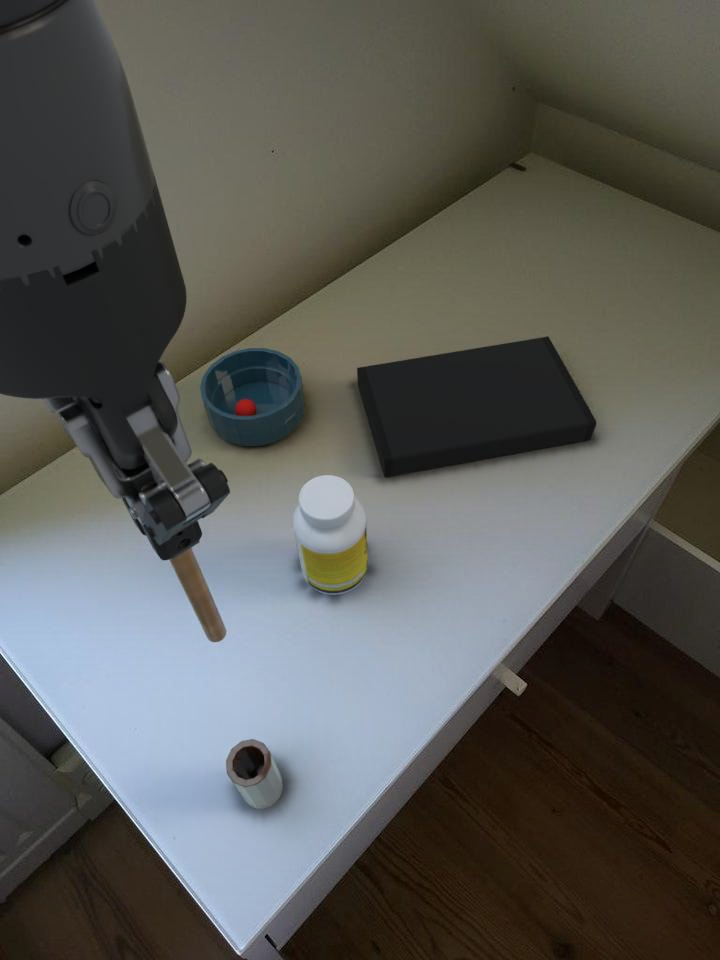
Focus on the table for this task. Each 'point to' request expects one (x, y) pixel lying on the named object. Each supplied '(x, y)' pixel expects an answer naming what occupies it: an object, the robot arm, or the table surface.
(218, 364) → the bowl
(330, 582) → the pill bottle
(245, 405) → the ball
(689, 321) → the table surface
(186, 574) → the stick
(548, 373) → the external hard drive
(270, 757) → the holder
